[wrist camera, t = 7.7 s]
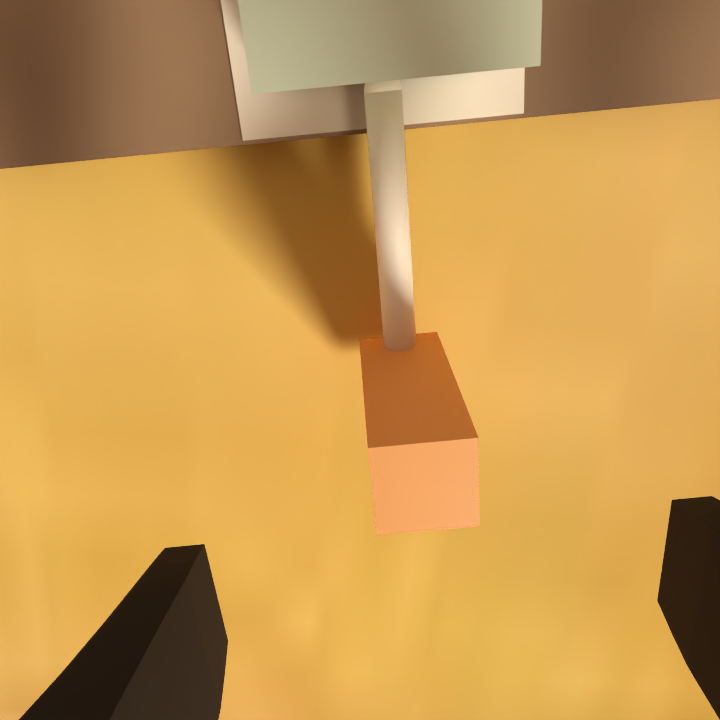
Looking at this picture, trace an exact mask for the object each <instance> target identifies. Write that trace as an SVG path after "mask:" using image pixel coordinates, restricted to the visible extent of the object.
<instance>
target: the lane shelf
mask: <svg viewBox="0 0 720 720" xmlns="http://www.w3.org/2000/svg"><path fill="white" fill-rule="evenodd" d="M399 81H400V83H401V87H402V99H403V117H404V129H414V128H424V127H434V126H444V125H455V124H465V123H475V122H485V121H496V120H506V119H516V118H527V117H537V116H547V115H557V114H568V113H578V112H588V111H598V110H609V109H619V108H629V107H640V106H650V105H660V104H670V103H681V102H691V101H701V100H711V99H720V0H542V31H541V66H535V67H524V68H514V69H504V70H494V71H484V72H473V73H463V74H453V75H443V76H433V77H422V78H412V79H402V80H399ZM364 86H365V83H361V84H351V85H341V86H331V87H320V88H310V89H300V90H290V91H280V92H269V93H259V94H252V93H251V86H250V79H249V73H248V66H247V59H246V52H245V46H244V39H243V32H242V25H241V19H240V12H239V5H238V0H0V169H3V168H13V167H23V166H33V165H44V164H54V163H64V162H74V161H85V160H95V159H105V158H116V157H126V156H136V155H146V154H157V153H167V152H177V151H187V150H198V149H208V148H218V147H229V146H239V145H249V144H259V143H270V142H280V141H290V140H301V139H311V138H321V137H331V136H342V135H352V134H362V133H367V125H366V113H365V100H364Z"/></svg>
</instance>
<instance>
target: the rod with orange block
mask: <svg viewBox="0 0 720 720" xmlns="http://www.w3.org/2000/svg"><path fill="white" fill-rule="evenodd" d="M238 5H239V12H240V19H241V25H242V32H243V39H244V46H245V52H246V59H247V66H248V73H249V79H250V86H251V93H252V94H259V93H269V92H280V91H290V90H300V89H310V88H320V87H331V86H341V85H351V84H361V83H365V86H364V100H365V113H366V125H367V138H368V150H369V163H370V175H371V188H372V200H373V213H374V226H375V238H376V251H377V263H378V276H379V288H380V301H381V313H382V326H383V337H379V338H369V339H359V341H360V354H361V367H362V379H363V392H364V404H365V417H366V430H367V442H368V453H369V464H370V474H371V484H372V494H373V504H374V514H375V524H376V535H377V536H379V535H390V534H401V533H412V532H423V531H434V530H445V529H456V528H466V527H477V526H479V452H478V436H477V433H476V431H475V428H474V426H473V423H472V420H471V418H470V415H469V413H468V410H467V408H466V405H465V403H464V400H463V398H462V395H461V392H460V390H459V387H458V385H457V382H456V380H455V377H454V375H453V372H452V370H451V367H450V364H449V362H448V359H447V357H446V354H445V352H444V349H443V347H442V344H441V341H440V339H439V336H438V334H437V332H432V333H422V334H416V330H415V312H414V294H413V277H412V259H411V241H410V223H409V206H408V188H407V170H406V153H405V135H404V117H403V99H402V87H401V83H400V81H399V80H402V79H412V78H422V77H433V76H443V75H453V74H463V73H473V72H484V71H494V70H504V69H514V68H524V67H535V66H541V31H542V0H238Z"/></svg>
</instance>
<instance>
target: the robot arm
mask: <svg viewBox="0 0 720 720" xmlns="http://www.w3.org/2000/svg"><path fill="white" fill-rule="evenodd" d="M657 601H658V603H659V605H660V607H661V610H662V612H663V614H664V617H665V619H666V621H667V623H668V626H669V628H670V630H671V632H672V635H673V637H674V639H675V641H676V643H677V645H678V647H679V649H680V651H681V653H682V656H683V658H684V660H685V662H686V664H687V666H688V668H689V669H690V671H691V673H692V674H693V676H694V678H695V679H696V681H697V683H698V684H699V686H700V688H701V689H702V691H703V693H704V694H705V696H706V698H707V699H708V701H709V703H710V704H711V706H712V708H713V709H714V711H715V713H716V714H717V716H718V717H719V719H720V500H718V499H716V498H714V497H712V496H709V497H698V498H688V499H677V500H672V503H671V510H670V517H669V524H668V531H667V538H666V545H665V552H664V558H663V565H662V572H661V579H660V586H659V593H658V600H657ZM227 645H228V639H227V635H226V631H225V627H224V623H223V619H222V614H221V610H220V606H219V602H218V598H217V594H216V590H215V586H214V582H213V578H212V574H211V569H210V565H209V561H208V557H207V553H206V549H205V545H204V544H202V545H191V546H181V547H170V548H165V549H164V550H163V551H162V552H161V553H160V554H159V556H158V557H157V558H156V559H155V560H154V562H153V563H152V564H151V565H150V566H149V568H148V569H147V570H146V571H145V573H144V574H143V575H142V576H141V578H140V579H139V580H138V581H137V583H136V584H135V585H134V586H133V588H132V589H131V590H130V591H129V593H128V594H127V595H126V596H125V598H124V599H123V600H122V601H121V602H120V604H119V605H118V606H117V607H116V609H115V610H114V611H113V612H112V614H111V615H110V616H109V617H108V618H107V620H106V621H105V622H104V623H103V625H102V626H101V627H100V628H99V629H98V630H97V632H96V633H95V634H94V635H93V636H92V638H91V639H90V640H89V641H88V642H87V644H86V645H85V646H84V647H83V648H82V649H81V651H80V652H79V653H78V654H77V655H76V657H75V658H74V659H73V660H72V661H71V662H70V664H69V665H68V666H67V667H66V668H65V669H64V671H63V672H62V673H61V674H60V675H59V676H58V677H57V679H56V680H55V681H54V682H53V683H52V684H51V685H50V686H49V687H48V688H47V690H46V691H45V692H44V693H43V694H42V695H41V696H40V697H39V698H38V699H37V700H36V702H35V703H34V704H33V705H32V706H31V707H30V708H29V709H28V710H27V711H26V713H25V714H24V715H23V716H22V717H21V718H20V719H19V720H218V718H219V714H220V709H221V701H222V692H223V684H224V675H225V665H226V655H227Z"/></svg>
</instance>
